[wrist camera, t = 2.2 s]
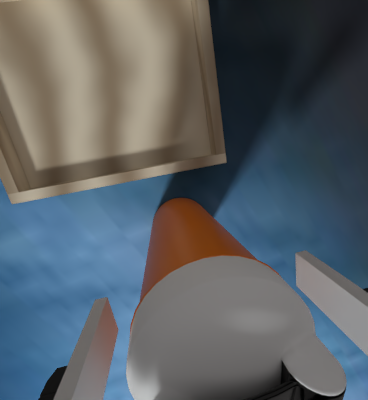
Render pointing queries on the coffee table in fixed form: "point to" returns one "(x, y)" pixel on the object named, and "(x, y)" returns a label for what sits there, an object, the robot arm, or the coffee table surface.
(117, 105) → the tray
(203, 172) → the coffee table surface
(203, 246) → the shaker bottle
